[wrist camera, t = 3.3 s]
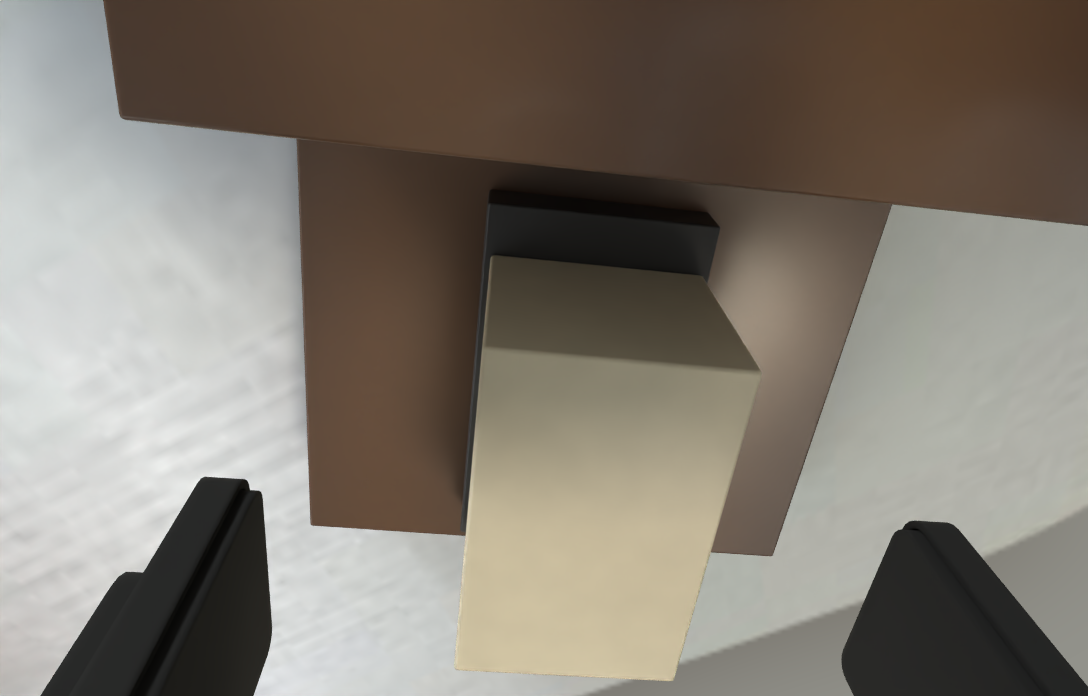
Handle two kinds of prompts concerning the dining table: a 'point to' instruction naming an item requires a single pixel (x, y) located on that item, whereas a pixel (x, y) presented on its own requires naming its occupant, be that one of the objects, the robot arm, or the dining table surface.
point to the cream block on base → (595, 437)
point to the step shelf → (606, 181)
